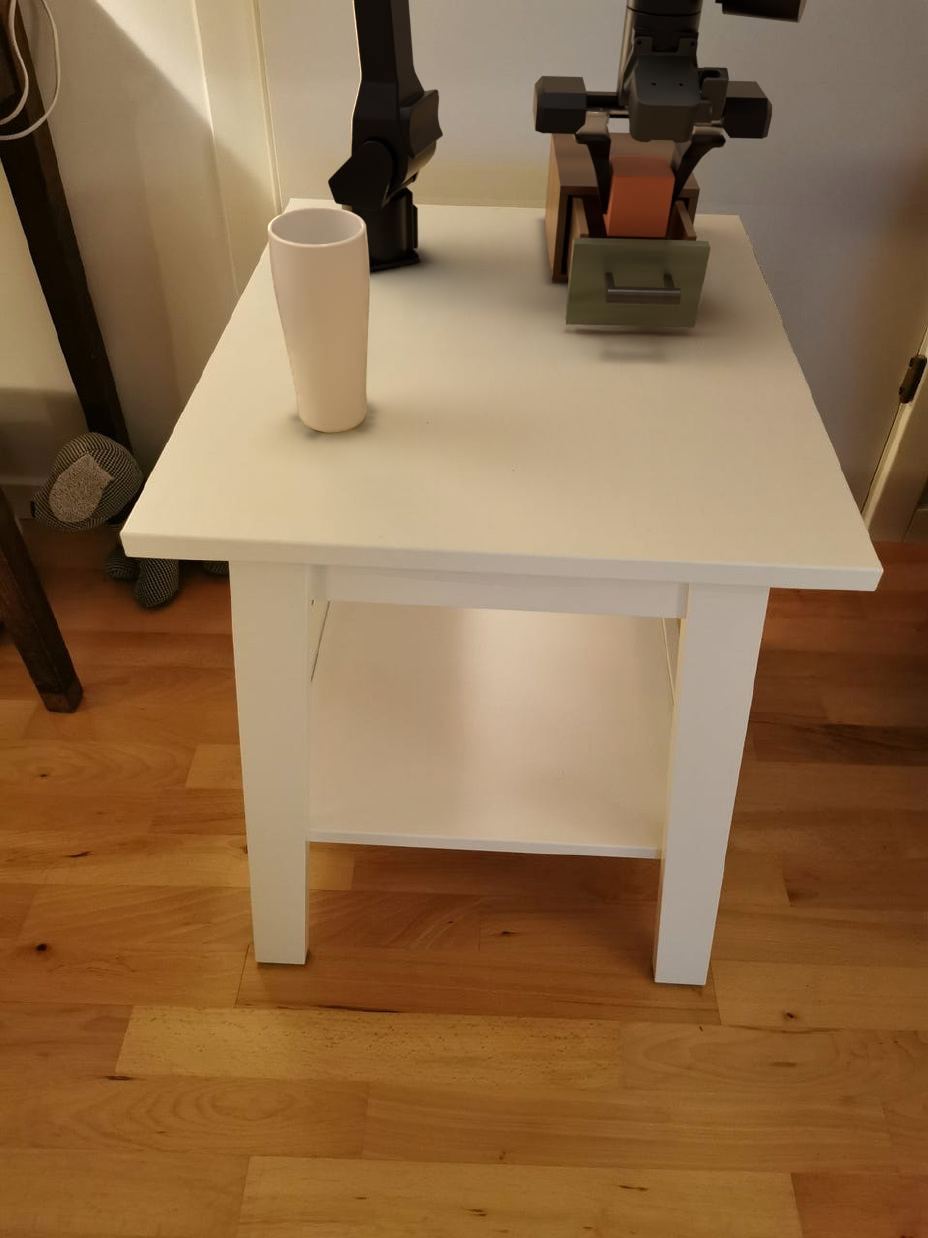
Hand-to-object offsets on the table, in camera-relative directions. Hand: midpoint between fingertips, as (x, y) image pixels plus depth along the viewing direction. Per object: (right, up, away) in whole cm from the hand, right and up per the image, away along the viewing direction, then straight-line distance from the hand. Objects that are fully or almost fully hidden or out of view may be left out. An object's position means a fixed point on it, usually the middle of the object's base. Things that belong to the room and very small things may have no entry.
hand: (634, 213), depth 85 cm
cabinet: (0, +2, +14) cm, 14 cm away
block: (0, -1, +1) cm, 1 cm away
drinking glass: (-25, -20, -9) cm, 33 cm away
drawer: (0, -6, +4) cm, 8 cm away
